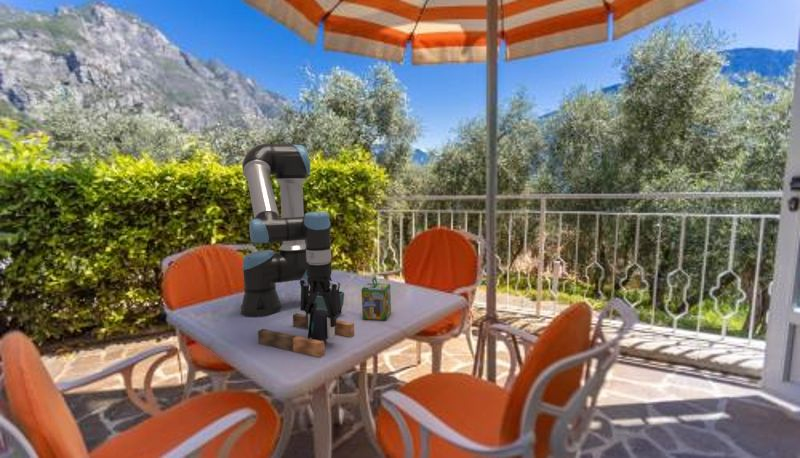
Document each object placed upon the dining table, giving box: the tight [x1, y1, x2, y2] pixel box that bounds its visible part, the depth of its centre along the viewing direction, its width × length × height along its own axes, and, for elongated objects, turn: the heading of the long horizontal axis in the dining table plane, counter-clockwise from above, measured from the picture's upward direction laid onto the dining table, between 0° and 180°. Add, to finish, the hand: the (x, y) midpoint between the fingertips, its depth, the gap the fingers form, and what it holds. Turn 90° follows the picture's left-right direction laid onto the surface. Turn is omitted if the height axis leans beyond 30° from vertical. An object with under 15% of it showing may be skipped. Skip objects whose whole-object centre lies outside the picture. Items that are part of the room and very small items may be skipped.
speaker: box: [307, 303, 329, 341], centre depth 122 cm, size 8×6×10 cm
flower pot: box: [315, 290, 345, 311], centre depth 146 cm, size 9×9×9 cm
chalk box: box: [361, 275, 392, 321], centre depth 145 cm, size 9×9×15 cm
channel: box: [257, 312, 355, 358], centre depth 125 cm, size 24×18×4 cm
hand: (321, 334), depth 123 cm, fingers closed on speaker, 7 cm apart
